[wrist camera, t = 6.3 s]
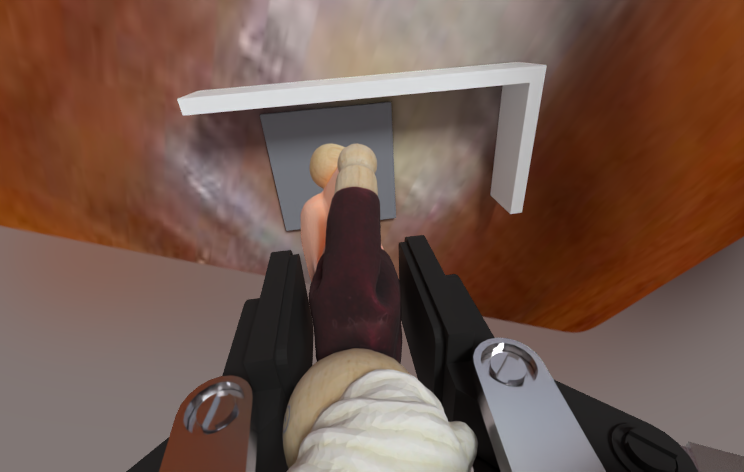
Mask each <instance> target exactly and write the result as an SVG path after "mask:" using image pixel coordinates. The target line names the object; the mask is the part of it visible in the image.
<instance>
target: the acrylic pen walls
mask: <svg viewBox="0 0 744 472" xmlns="http://www.w3.org/2000/svg"><path fill="white" fill-rule="evenodd" d="M546 67H547V65H542V64H533V63H524V62H510V63H499V64H488V65H477V66H466V67H454V68H443V69H432V70H421V71H410V72H399V73H388V74H377V75H366V76H355V77H344V78H333V79H322V80H311V81H300V82H289V83H278V84H267V85H256V86H245V87H234V88H223V89H212V90H201V91H196V92H194V93H191V94H188V95H186V96H183V97H181V98H178V99H177V100H178V103H179V106H180V109H181V112H182V115H183V116H184V115H195V114H205V113H216V112H226V111H237V110H247V109H258V108H268V107H279V106H289V105H300V104H310V103H321V102H332V101H342V100H353V99H363V98H374V97H384V96H395V95H405V94H416V93H426V92H437V91H447V90H458V89H468V88H479V87H490V86H500V85H503V86H502V95H501V104H500V113H499V122H498V131H497V140H496V148H495V157H494V166H493V175H492V184H491V193H490V195H491V196H492V197H493V198H494V199H495V200H496V201H497V202H498V203H499V204H500V205H501V206H502V207H503V208H504V209H505V210H507V211H508V212H509V213H510V214H514V213H522V209H523V203H524V197H525V191H526V185H527V179H528V173H529V167H530V162H531V156H532V150H533V144H534V138H535V132H536V126H537V120H538V114H539V108H540V102H541V96H542V90H543V84H544V79H545V73H546Z"/></svg>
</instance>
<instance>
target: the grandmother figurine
mask: <svg viewBox="0 0 744 472" xmlns="http://www.w3.org/2000/svg"><path fill="white" fill-rule="evenodd" d="M309 170H310V175H311V178H312V179H313V181H314V182H315V183H316V184H317V185H318V186H319V187H321V188H323V191H322V192H321V193H320V194H317V195H316V196H314V197H312V198H311V199H309V200H308V201H307V202H306V203H305V204H304V206H303V208H302V211H301V215H300V216H301V240H302V247H303V251H304V256H305V259H306V263H307V268H308V272H309V276H310V279H311V286H310V292H309V305H310V311H311V315H312V320H313V325H314V335H315V348H316V359H317V362H316V363H315V364H314V365H313V366H312V367H310V369H309V370H308V371H307V372H306V373H305V374H304V375H303V377H302V378H301V379H300V381H299V382H298V383H297V385H296V387H295V389H294V391H293V393H292V395H291V397H290V400H289V402H288V405H287V409H286V413H285V417H284V423H283V435H282V436H283V448H284V454H285V459H286V463H287V466H288V468H289V469H288V472H470V471H471V468H472V465H473V462H474V460H475V458H476V456H477V447H478V441H477V438H476V435H475V433H474V432H473V431H472V430H471V428H470V427H469V426H468V425H467V424H466V423H464V422H461V421H453V422H448V419H447V417H446V415H445V413H444V409H443V407H442V405H441V402H440V401H439V400H438V398H437V397H436V396H435V395H434V394H433V393H432V392H431V391H430V390H429V389H427V388H426V387H425V386H424V385H423V384H422V383H421V382H420V381H419V380H418V379H417V378H415V377H414V376H412V375H410V374H409V372H408V371H407V370H406V369H405V368H404V367H403V366H402V365H401V364H400V362H401V352H402V329H401V299H400V294H401V287H400V282H399V279H398V276H397V273H396V271H395V267H394V265H393V263H392V261H391V259H390V256H389V255H388V254H387V253H386V252H385V251H384V249H383V247H382V245H381V235H380V200H379V198H378V188H377V179H376V176H375V172H376V170H377V159H376V156H375V154H374V152H373V151H372V150H371V149H370V148H369V147H367V146H365V145H362V144H358V143H357V144H351V145H349V146H347V147H343V146H340V145H337V144H332V143H331V144H325V145H322V146H320V147H318V148H317V149H316V150H315V151H314V153H313V155H312V157H311V160H310V167H309Z"/></svg>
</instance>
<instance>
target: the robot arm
mask: <svg viewBox="0 0 744 472" xmlns="http://www.w3.org/2000/svg"><path fill="white" fill-rule="evenodd" d="M399 282H400V287H401V294H400V299H401V321H402V324H403V328H404V331H405V335H406V339H407V342H408V346H409V349H410V353H411V356H412V359H413V363H414V367H415V370H416V374H417V378H418V380H419V381H420V382H421V383H422V384H423V385H424V386H425V387H426V388H427V389H429V390H430V391H431V392H432V393H433V394H434V395H435V396H436V397H437V398H438V400H439V401H440V402H441V405H442V407H443V409H444V413H445V415H446V417H447V419H448V422H453V421H461V422H464V423H466V424H467V425H468V426H469V427H470V428H471V430H472V431H473V432H474V433H475V435H476V438H477V441H478V447H477V456H476V458H475V460H474V462H473V465H472V468H471V471H470V472H744V456H740V455H737V454H733V453H729V452H725V451H722V450H718V449H714V448H710V447H706V446H703V445H699V444H695V443H691V442H688V443H687V444H686V446H681V445H679V444H678V443H677V442H676V441H675V440H673V439H672V438H671V437H670V436H669V435H667V434H666V433H665V432H663V431H661V430H660V429H658V428H656V427H654V426H653V425H651V424H649V423H647V422H644V421H642V420H640V419H638V418H636V417H634V416H631V415H629V414H627V413H625V412H623V411H621V410H618V409H616V408H614V407H612V406H610V405H608V404H605V403H603V402H601V401H599V400H597V399H595V398H592V397H590V396H588V395H586V394H584V393H581V392H579V391H577V390H575V389H573V388H571V387H569V386H566V385H564V384H562V383H560V382H558V381H555V380H553V378H552V377H551V375H550V373H549V371H548V370H547V368H546V366H545V364H544V363H543V361H542V360H541V358H540V357H539V356H538V355H537V353H536V352H534V351H533V350H532V349H531V348H529V347H528V346H526V345H524V344H522V343H520V342H518V341H515V340H512V339H507V338H494V336H493V334H492V333H491V331H490V329H489V328H488V326H487V324H486V322H485V321H484V319H483V317H482V315H481V314H480V312H479V310H478V309H477V307H476V305H475V303H474V302H473V300H472V298H471V297H470V295H469V293H468V291H467V290H466V288H465V286H464V285H463V283H462V281H461V279H460V278H459V277H458V275H456V274H452V275H445V274H444V272H443V270H442V268H441V266H440V264H439V262H438V261H437V259H436V257H435V255H434V253H433V251H432V249H431V247H430V245H429V244H428V242H427V240H426V238H425V236H424V235H420V236H411V237H405V242H400V243H399ZM312 360H313V322H312V317H311V312H310V306H309V301H308V297H307V291H306V286H305V281H304V276H303V270H302V265H301V260H300V256H299V254H296V255H293V253H292V251H291V250H288V251H279V252H272V253H271V256H270V260H269V264H268V268H267V272H266V276H265V280H264V284H263V288H262V292H261V296H260V298H258V299H250V300H247V301H246V302H245V304H244V307H243V310H242V313H241V317H240V320H239V323H238V327H237V330H236V333H235V337H234V340H233V343H232V346H231V349H230V353H229V356H228V359H227V362H226V366H225V369H224V373H223V376H221V377H217V378H214V379H211V380H209V381H207V382H205V383H204V384H202V385H200V386H198V387H197V388H196V389H195V390H194V391H193V392H191V393H190V394H189V395H188V396H187V398H186V399H185V400H184V401H183V403H182V404H181V405H180V408H179V410H178V412H177V414H176V417H175V420H174V423H173V427H172V430H171V433H170V437H169V438H167V439H166V440H165V441H164V442H162V443H161V444H160V445H159V446H158V447H156V448H155V449H154V450H153V451H151V452H150V453H149V454H148V455H146V456H145V457H144V458H143V459H141V460H140V461H139V462H138V463H137V464H135V465H134V466H133V467H132V468H131V469H129V470H128V471H127V472H287V470H288V469H289V468H288V466H287V463H286V459H285V454H284V448H283V436H282V435H283V423H284V417H285V413H286V409H287V405H288V402H289V400H290V397H291V395H292V393H293V391H294V389H295V387H296V385H297V383H298V382H299V381H300V379H301V378H302V377H303V375H304V374H305V373H306V372H307V371H308V370H309V369H310V367H312Z"/></svg>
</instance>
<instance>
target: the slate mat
mask: <svg viewBox="0 0 744 472" xmlns="http://www.w3.org/2000/svg"><path fill="white" fill-rule="evenodd" d="M260 119H261V123H262V127H263V132H264V136H265V140H266V145H267V149H268V153H269V158H270V162H271V166H272V171H273V175H274V180H275V184H276V188H277V193H278V197H279V201H280V206H281V210H282V214H283V219H284V223H285V227H286V231H289V230H297V229H301V216H300V215H301V211H302V208H303V206H304V204H305V203H306V202H307V201H308V200H309V199H311V198H312V197H314V196H316V195H317V194H320V193H321V192H322V191H323V188H321V187H319V186H318V185H317V184H316V183H315V182H314V181H313V179H312V178H311V175H310V170H309V167H310V160H311V157H312V155H313V153H314V151H315V150H316V149H317V148H318V147H320V146H322V145H325V144H331V143H332V144H337V145H340V146H343V147H347V146H349V145H351V144H357V143H358V144H362V145H365V146H367V147H369V148H370V149H371V150H372V151H373V152H374V154H375V156H376V159H377V170H376V172H375V176H376V179H377V188H378V198H379V200H380V220H382V219H390V218H396V207H395V183H394V158H393V134H392V109H391V102H382V103H372V104H361V105H351V106H340V107H330V108H320V109H309V110H299V111H288V112H278V113H267V114H260Z"/></svg>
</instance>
